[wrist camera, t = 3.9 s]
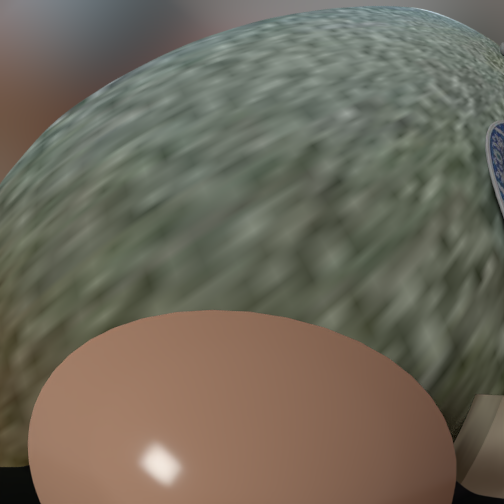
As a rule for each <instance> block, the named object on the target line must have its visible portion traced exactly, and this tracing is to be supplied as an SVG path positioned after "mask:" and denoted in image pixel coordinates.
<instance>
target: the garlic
mask: <svg viewBox="0 0 504 504" xmlns="http://www.w3.org/2000/svg"><path fill="white" fill-rule="evenodd" d="M500 51H501V53H502V55H503V56H504V43H502V44H501V45H500Z"/></svg>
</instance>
